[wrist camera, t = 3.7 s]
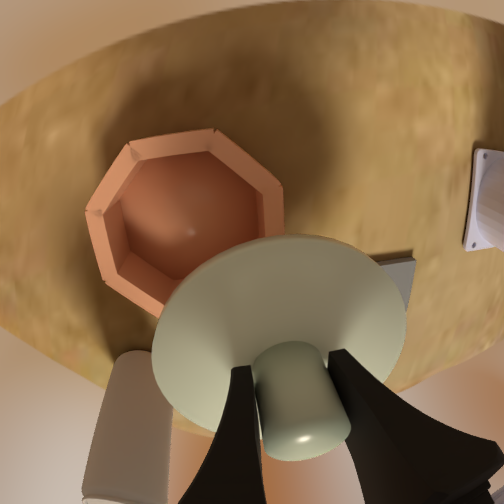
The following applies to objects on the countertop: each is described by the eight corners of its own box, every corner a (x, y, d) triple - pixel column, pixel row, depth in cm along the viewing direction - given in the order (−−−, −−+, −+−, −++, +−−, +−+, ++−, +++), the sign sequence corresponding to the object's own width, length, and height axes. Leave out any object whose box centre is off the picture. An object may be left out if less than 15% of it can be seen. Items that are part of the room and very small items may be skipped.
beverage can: (107, 345, 20) (63, 490, 9) (169, 344, 21) (152, 504, 10) (125, 388, 22) (101, 518, 11) (181, 388, 23) (176, 528, 12)
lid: (411, 219, 10) (489, 268, 7) (378, 402, 15) (408, 462, 11) (122, 255, 10) (76, 332, 6) (187, 436, 14) (186, 505, 10)
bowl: (266, 123, 15) (279, 123, 12) (274, 275, 19) (286, 308, 16) (100, 145, 15) (73, 153, 12) (131, 290, 19) (117, 324, 15)
